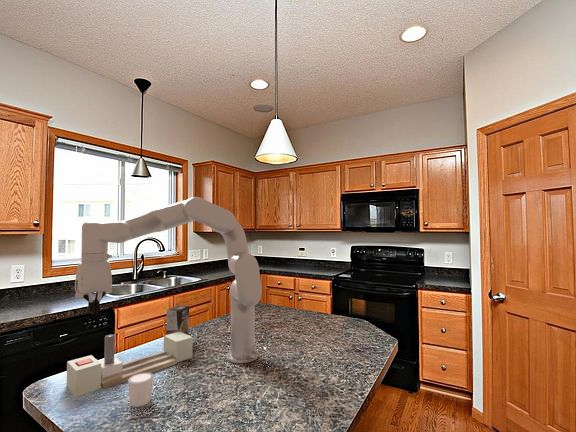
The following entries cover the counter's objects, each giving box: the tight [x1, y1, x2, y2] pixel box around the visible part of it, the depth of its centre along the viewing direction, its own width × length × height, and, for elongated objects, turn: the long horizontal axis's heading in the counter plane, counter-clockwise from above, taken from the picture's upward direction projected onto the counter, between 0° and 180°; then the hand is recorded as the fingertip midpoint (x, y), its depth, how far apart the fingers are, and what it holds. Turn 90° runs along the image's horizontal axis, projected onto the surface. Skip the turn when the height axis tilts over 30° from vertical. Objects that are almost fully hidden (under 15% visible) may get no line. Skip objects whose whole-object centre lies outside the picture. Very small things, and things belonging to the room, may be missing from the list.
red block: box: [76, 358, 92, 367], centre depth 101 cm, size 4×4×4 cm
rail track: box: [101, 350, 177, 390], centre depth 113 cm, size 12×25×2 cm, turn 138°
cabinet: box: [163, 332, 194, 364], centre depth 126 cm, size 10×7×8 cm
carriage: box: [98, 334, 123, 378], centre depth 107 cm, size 7×6×12 cm
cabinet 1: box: [66, 354, 102, 398], centre depth 101 cm, size 10×7×8 cm
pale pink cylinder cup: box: [127, 373, 154, 408], centre depth 93 cm, size 7×7×7 cm
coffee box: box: [165, 305, 190, 336], centre depth 140 cm, size 9×6×16 cm
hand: (93, 313), depth 104 cm, fingers closed
